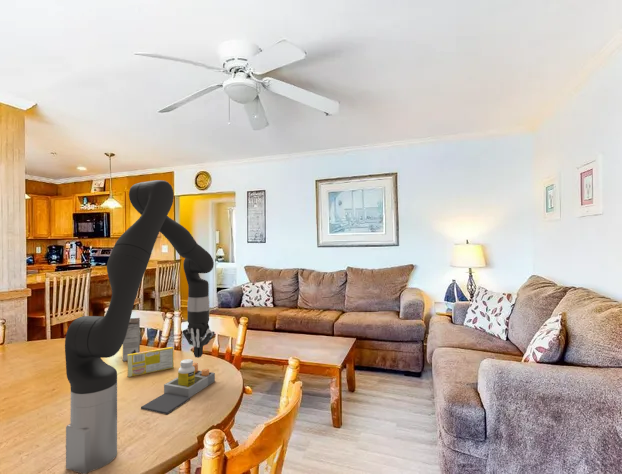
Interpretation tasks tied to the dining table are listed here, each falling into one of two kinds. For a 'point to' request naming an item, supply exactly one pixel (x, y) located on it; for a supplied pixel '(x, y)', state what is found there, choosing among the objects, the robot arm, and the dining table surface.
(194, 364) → the plunger
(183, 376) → the supplement bottle
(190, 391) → the frame
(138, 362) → the candy box
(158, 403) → the mat
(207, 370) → the plunger
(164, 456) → the dining table surface
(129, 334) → the coffee box
